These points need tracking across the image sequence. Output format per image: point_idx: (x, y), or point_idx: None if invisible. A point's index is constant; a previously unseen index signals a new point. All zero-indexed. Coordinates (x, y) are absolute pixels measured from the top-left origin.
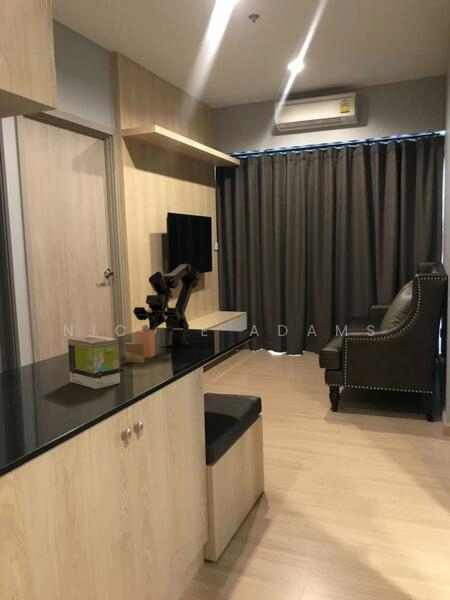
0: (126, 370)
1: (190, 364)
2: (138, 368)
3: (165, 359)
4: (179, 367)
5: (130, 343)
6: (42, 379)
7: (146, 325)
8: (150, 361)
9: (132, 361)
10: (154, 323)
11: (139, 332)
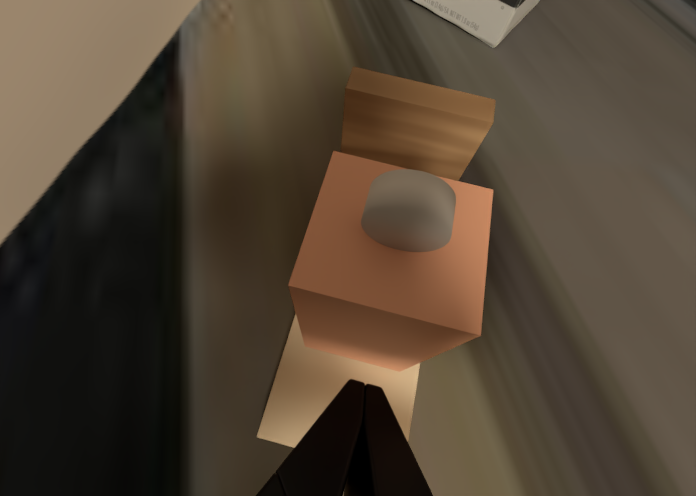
0: None
1: (74, 189)
2: None
3: (231, 327)
4: (144, 137)
5: (451, 96)
6: (660, 33)
7: (395, 182)
8: None
9: None
10: (296, 455)
11: (455, 187)
